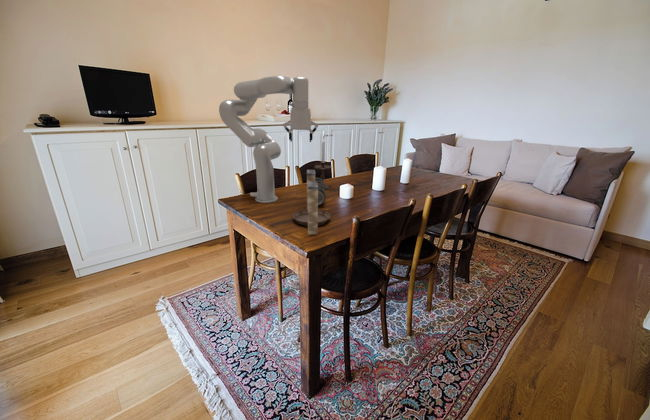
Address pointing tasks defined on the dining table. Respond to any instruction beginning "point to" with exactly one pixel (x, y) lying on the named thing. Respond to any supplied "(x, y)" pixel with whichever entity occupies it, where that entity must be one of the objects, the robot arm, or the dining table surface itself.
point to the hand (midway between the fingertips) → (300, 141)
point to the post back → (310, 180)
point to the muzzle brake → (320, 190)
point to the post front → (312, 208)
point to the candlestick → (323, 163)
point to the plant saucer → (303, 217)
